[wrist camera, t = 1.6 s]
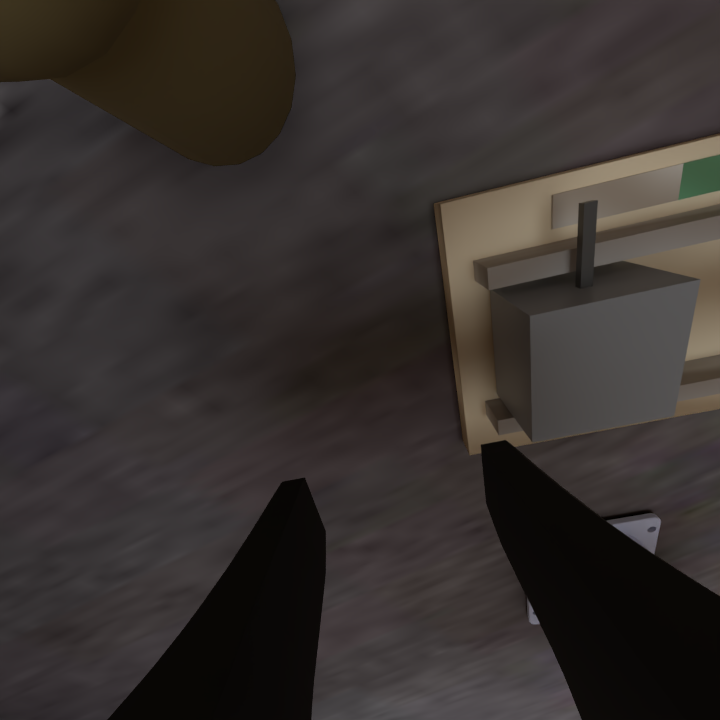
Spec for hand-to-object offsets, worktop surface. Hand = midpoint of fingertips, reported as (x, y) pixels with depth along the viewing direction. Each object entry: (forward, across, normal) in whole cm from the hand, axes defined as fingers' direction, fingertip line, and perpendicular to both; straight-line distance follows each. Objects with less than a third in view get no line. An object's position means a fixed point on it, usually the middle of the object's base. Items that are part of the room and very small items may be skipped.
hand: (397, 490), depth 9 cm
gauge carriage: (+7, -7, -1) cm, 10 cm away
